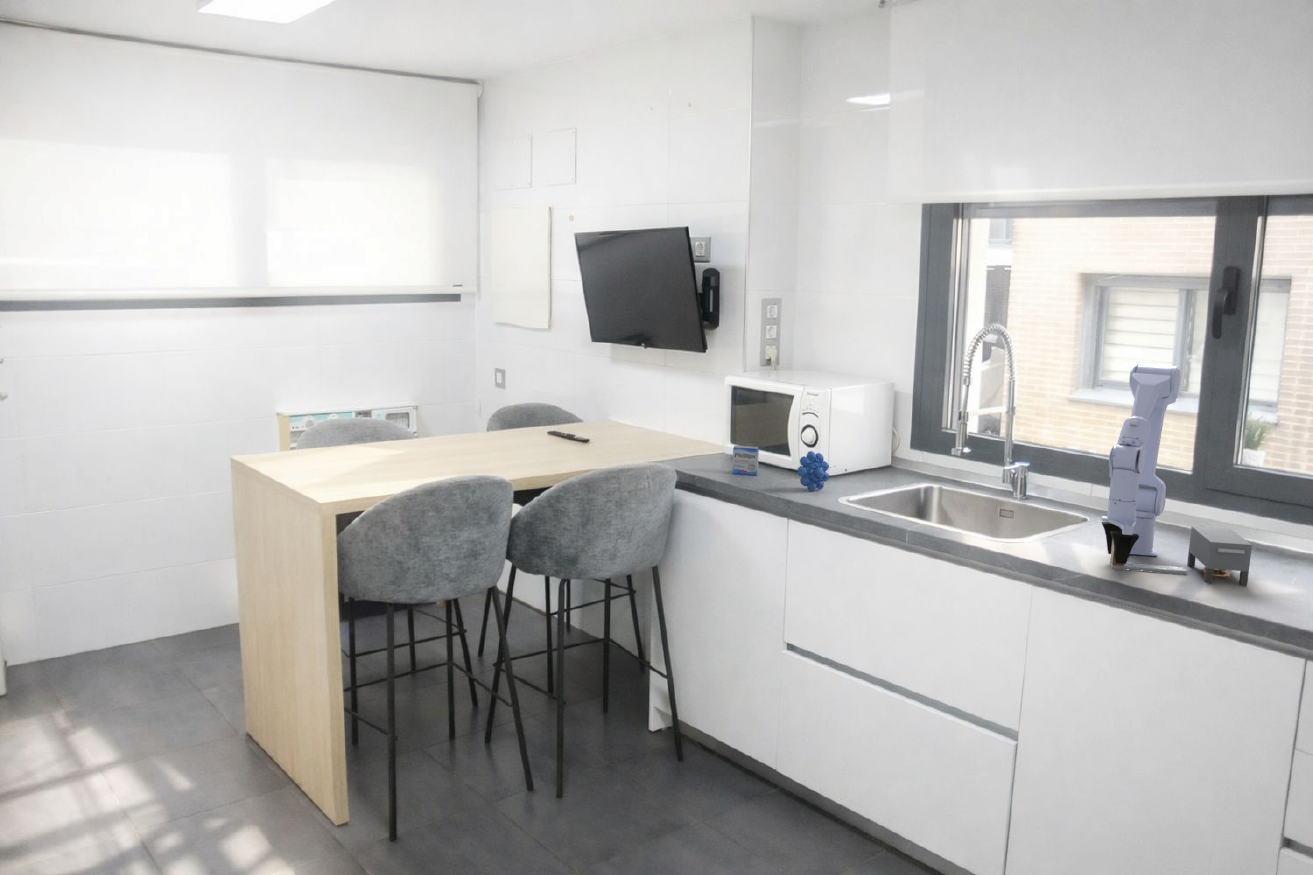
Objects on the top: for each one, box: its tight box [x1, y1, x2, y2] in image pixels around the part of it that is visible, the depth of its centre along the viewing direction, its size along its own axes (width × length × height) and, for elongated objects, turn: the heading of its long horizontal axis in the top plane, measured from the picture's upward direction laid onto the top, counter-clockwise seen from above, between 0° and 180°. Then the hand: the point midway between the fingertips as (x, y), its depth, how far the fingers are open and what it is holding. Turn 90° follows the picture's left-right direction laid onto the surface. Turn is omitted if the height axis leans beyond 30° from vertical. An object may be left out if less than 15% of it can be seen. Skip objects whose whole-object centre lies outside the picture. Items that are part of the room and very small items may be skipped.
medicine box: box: [731, 445, 760, 477], centre depth 324 cm, size 8×4×9 cm, turn 80°
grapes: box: [797, 450, 830, 492], centre depth 299 cm, size 12×7×12 cm, turn 123°
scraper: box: [1109, 539, 1188, 576], centre depth 228 cm, size 3×15×6 cm, turn 78°
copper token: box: [1202, 566, 1231, 580], centre depth 226 cm, size 5×5×2 cm
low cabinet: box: [1186, 525, 1253, 587], centre depth 225 cm, size 15×8×9 cm, turn 168°
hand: (1117, 558), depth 230 cm, fingers open, 7 cm apart
